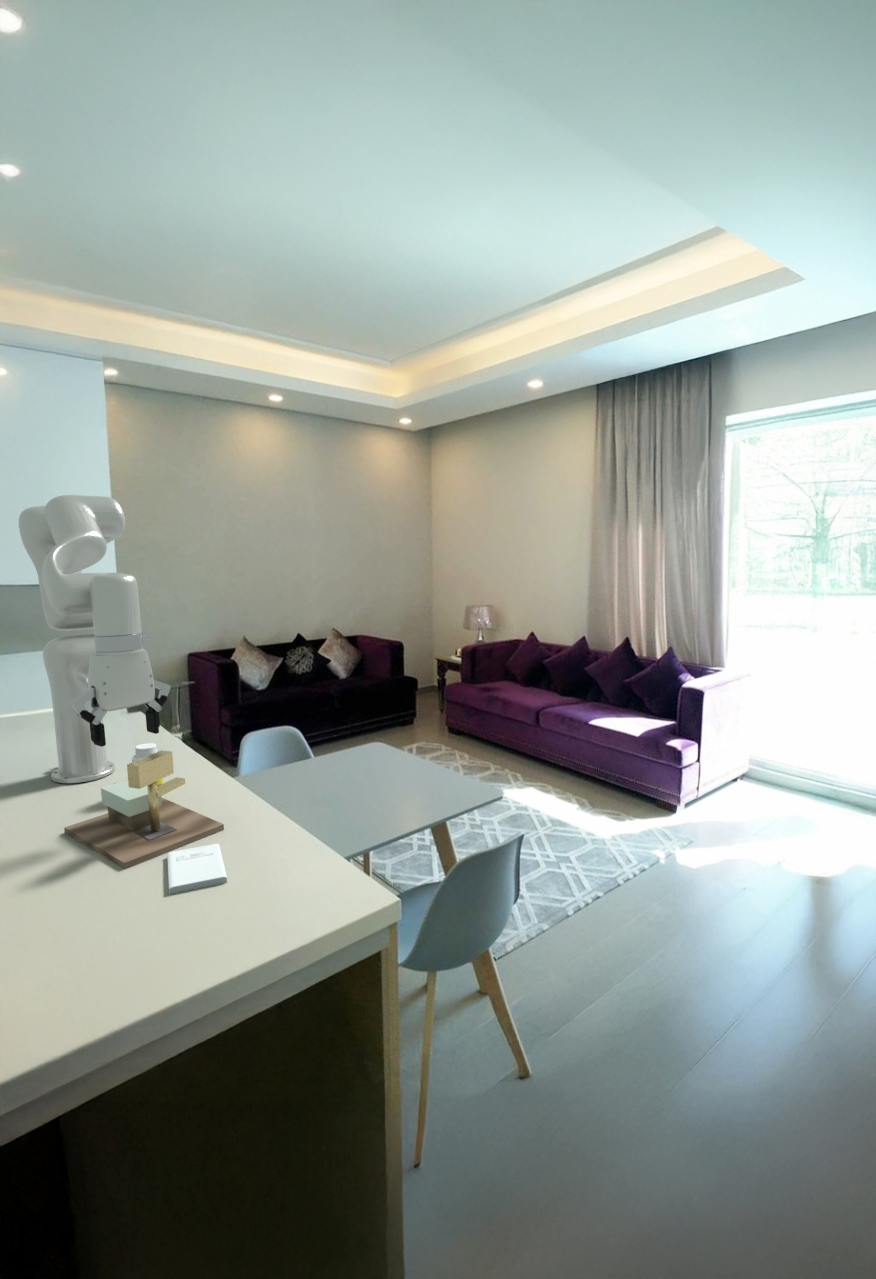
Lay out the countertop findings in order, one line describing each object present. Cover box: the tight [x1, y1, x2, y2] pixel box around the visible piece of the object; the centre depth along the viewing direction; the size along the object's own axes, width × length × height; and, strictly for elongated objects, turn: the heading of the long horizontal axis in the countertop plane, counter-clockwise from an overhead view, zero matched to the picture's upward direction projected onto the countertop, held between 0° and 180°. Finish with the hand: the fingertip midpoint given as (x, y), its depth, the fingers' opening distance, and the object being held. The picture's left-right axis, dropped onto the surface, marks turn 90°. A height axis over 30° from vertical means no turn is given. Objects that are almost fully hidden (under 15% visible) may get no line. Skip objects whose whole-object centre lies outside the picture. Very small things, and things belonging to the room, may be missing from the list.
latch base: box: [63, 796, 225, 870], centre depth 115 cm, size 22×18×4 cm
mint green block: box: [100, 779, 162, 817], centre depth 117 cm, size 10×6×3 cm, turn 52°
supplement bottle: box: [131, 742, 164, 786], centre depth 133 cm, size 6×6×10 cm
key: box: [126, 749, 186, 830], centre depth 114 cm, size 11×2×13 cm, turn 161°
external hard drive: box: [166, 843, 228, 895], centre depth 102 cm, size 2×8×12 cm
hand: (127, 738), depth 115 cm, fingers open, 9 cm apart
